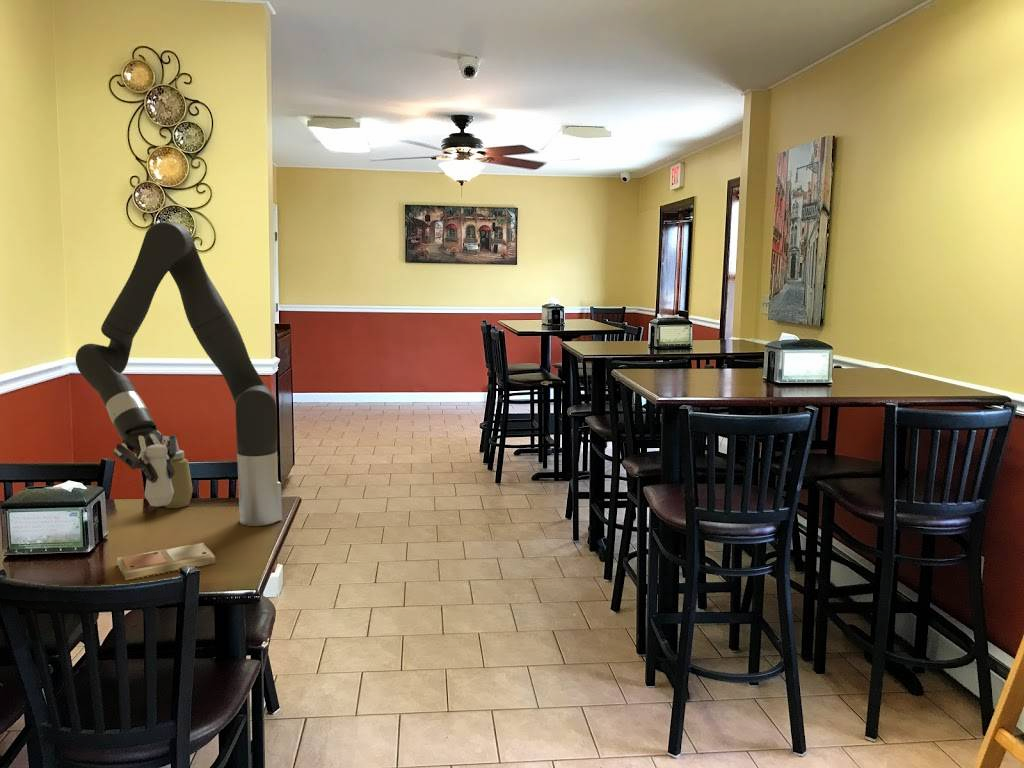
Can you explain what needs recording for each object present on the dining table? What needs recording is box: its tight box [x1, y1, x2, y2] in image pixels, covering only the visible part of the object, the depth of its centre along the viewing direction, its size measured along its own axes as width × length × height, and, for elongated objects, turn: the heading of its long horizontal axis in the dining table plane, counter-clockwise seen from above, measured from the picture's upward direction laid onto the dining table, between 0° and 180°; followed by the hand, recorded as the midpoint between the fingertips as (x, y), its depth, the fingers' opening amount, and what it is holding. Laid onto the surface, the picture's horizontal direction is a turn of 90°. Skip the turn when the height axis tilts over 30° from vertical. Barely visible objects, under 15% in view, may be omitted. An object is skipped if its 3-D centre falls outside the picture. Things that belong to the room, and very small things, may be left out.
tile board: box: [116, 542, 216, 579], centre depth 162 cm, size 17×10×2 cm, turn 125°
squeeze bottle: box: [163, 439, 194, 509], centre depth 201 cm, size 8×8×18 cm
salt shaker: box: [143, 443, 174, 507], centre depth 168 cm, size 6×6×13 cm
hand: (163, 478), depth 167 cm, fingers closed on salt shaker, 3 cm apart
